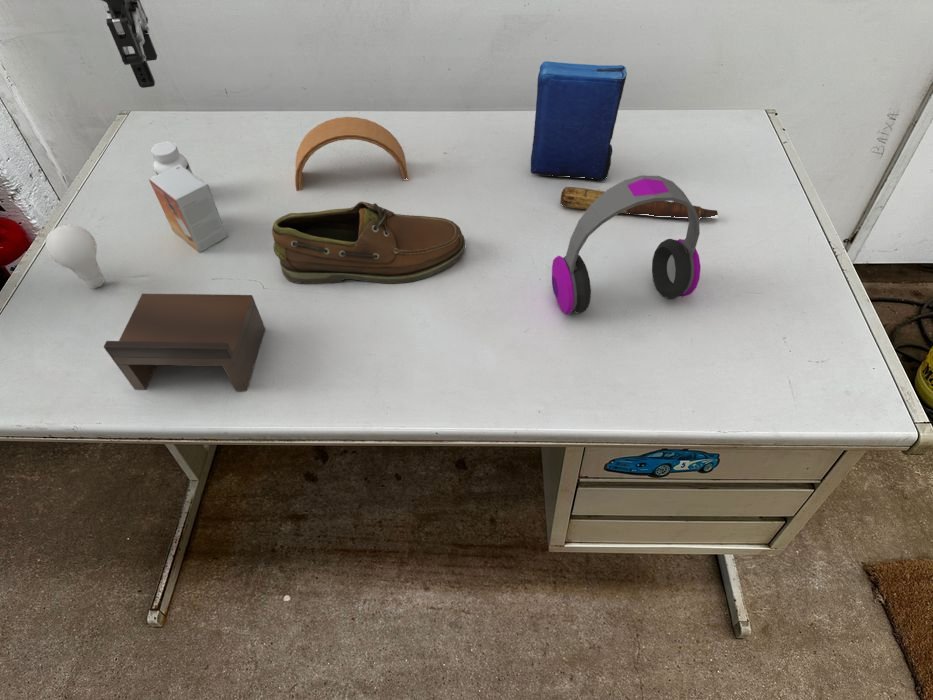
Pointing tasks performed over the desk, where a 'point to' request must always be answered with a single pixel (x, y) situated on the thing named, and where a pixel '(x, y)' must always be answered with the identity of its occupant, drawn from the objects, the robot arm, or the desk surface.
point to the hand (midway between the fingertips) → (149, 72)
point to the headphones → (671, 258)
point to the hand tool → (657, 208)
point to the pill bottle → (167, 157)
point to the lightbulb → (75, 252)
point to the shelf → (190, 336)
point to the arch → (343, 131)
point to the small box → (189, 207)
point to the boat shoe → (364, 245)
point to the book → (576, 119)
